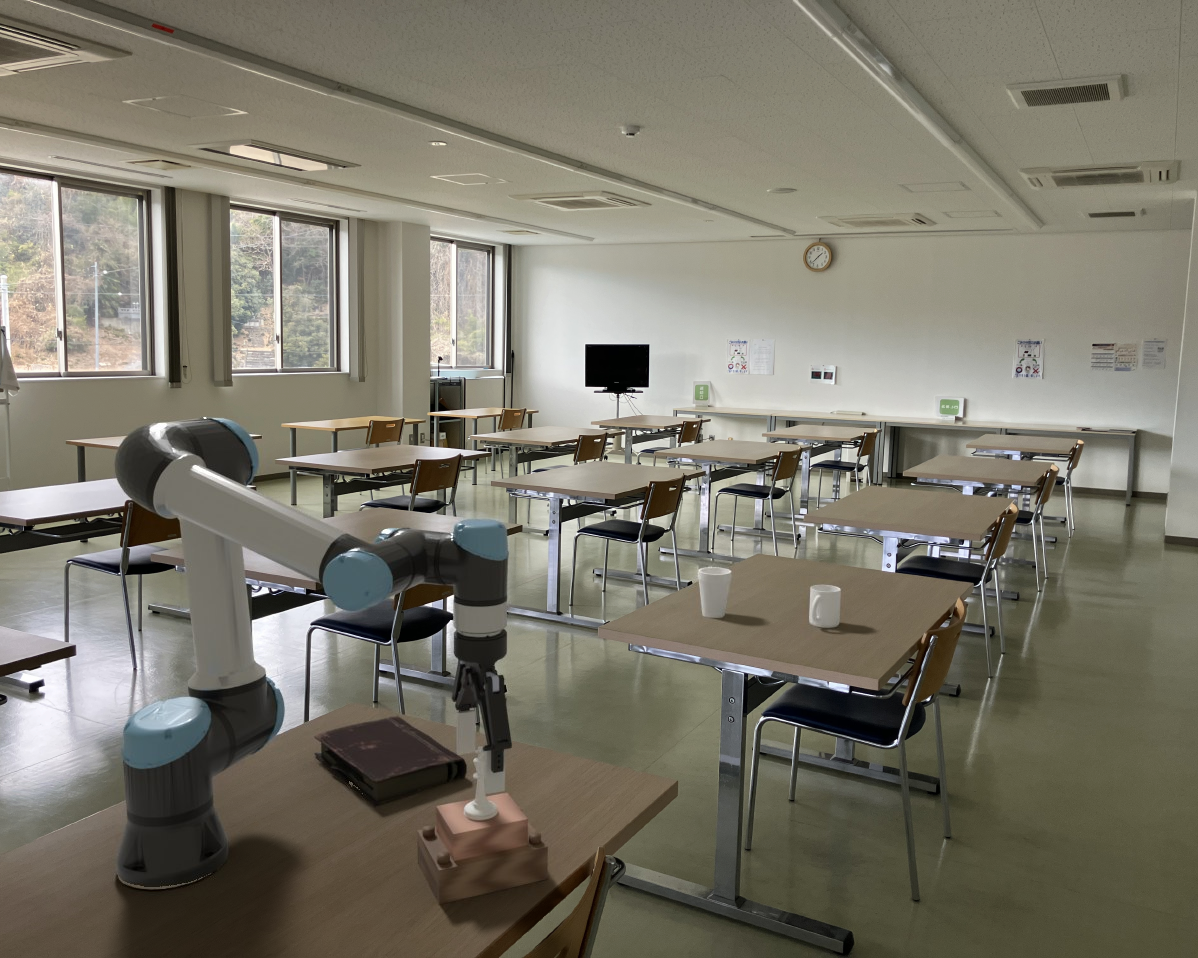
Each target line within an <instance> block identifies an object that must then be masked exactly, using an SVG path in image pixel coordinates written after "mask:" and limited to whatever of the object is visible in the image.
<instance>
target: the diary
mask: <svg viewBox="0 0 1198 958" xmlns="http://www.w3.org/2000/svg"><path fill="white" fill-rule="evenodd" d="M314 739H316V740H317V742H320V744H321V745H320V752H314V756H315V758H316V759H317V760H318V761H319V762H321V763H322V765H324V766H325V767H326V768H327V767H328V768H329V770H330V771H331V772H332V773H334V774H335V775H336V776H337V775H338V777H339V778H340V779H341V778H342V779H341V780H342V781H343V782H345V783H346V784H347V785H348V784H349V781H350V782H352V783H353V785H355V786H356V787H358V789H360V790H359V791H358V792H359V793H360V792H361V793H363V794H361V793H360V794H361V796H362V797H363V796H364V797H363V798H364V799H365V800H366V801H367V802H368V803H369V804H370V805H372V807H374V808H376V807H379V806H383V805H385V804H390V803H391V802H396V801H398V800H401V799H404V798H407V797H411V796H413V795H417V794H420V793H421V790H424V789H427V787H428V788H430V786H431V787H434V786H436V785H440V784H443V783H442V782H444V783H446V782H447V781H448V780H450V781H451V780H452V781H454V778H455V776H458V777H459V778H460V779H462V780H465V778H466V776H467V770H468V769H467V768H468V765H467V763H466V760H465V759H464V757H462V756H461V755H457V753H456V752H455V751H452V750H450V749H448V748H447V747H445V746H443V744H441V743H440V742H438V741H437V740H435V739H434V738H433V737H431V736H430V735H428V734H426V733H425V732H423V731H422V730H419V729H418V728H416V727H415V726H413V725H411V724H410V723H409V722H407V721H406V720H405V719H404V718H402V717H400V716H399V715H393V716H389V717H384V718H380V719H377V720H370V721H364V722H360V723H359V722H358V723H355V724H351V725H345V726H342V727H338V728H335V729H330V730H328V731H324V732H321V733H318V734H316V735H314ZM445 781H446V782H445ZM349 785H350V784H349ZM349 785H348V786H349ZM350 786H351V785H350ZM350 786H349V787H350Z"/></svg>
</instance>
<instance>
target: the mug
mask: <svg viewBox="0 0 1198 958" xmlns="http://www.w3.org/2000/svg"><path fill="white" fill-rule="evenodd" d="M809 589H810V593H809V595H810V596H809V611H808V612H809V614H808V615H809V618H808V620H809V621H808V622H809V624H810V625H811V626H813V627H816V628H817V627H818V628H821V629H830V628H831V629H833V628H836V627H838V626H839V624H840V619H841V618H840V617H841V616H840V615H841V597H842V595H841V594H842V589H841V588H840V587H838V586H835V585H831V584H830V585H829V584H816V585H812V586H810V587H809Z"/></svg>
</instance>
